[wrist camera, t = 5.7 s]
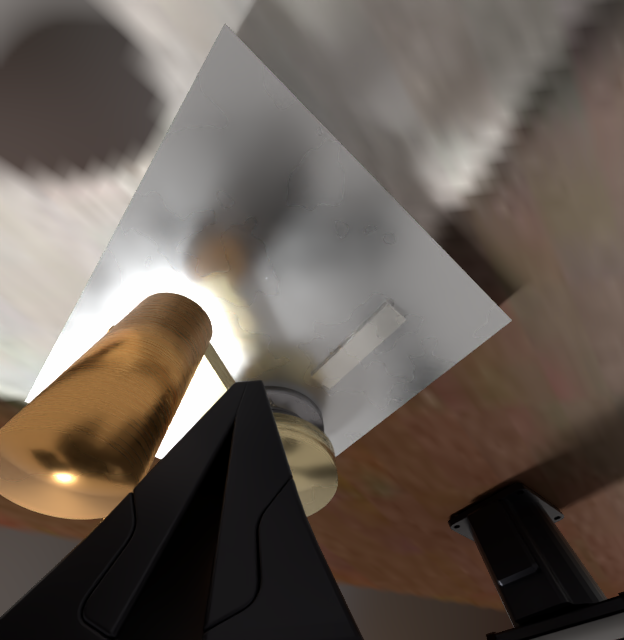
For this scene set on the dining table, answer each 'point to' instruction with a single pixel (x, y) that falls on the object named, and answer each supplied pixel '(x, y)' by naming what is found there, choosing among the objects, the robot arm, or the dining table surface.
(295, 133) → the base
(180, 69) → the dining table surface
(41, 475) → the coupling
